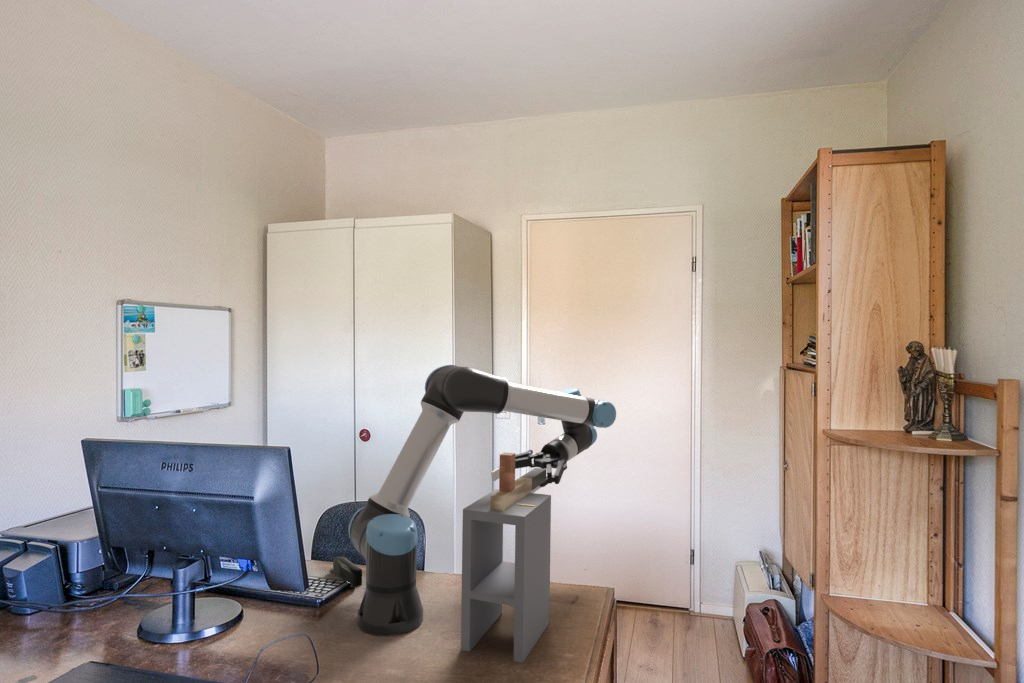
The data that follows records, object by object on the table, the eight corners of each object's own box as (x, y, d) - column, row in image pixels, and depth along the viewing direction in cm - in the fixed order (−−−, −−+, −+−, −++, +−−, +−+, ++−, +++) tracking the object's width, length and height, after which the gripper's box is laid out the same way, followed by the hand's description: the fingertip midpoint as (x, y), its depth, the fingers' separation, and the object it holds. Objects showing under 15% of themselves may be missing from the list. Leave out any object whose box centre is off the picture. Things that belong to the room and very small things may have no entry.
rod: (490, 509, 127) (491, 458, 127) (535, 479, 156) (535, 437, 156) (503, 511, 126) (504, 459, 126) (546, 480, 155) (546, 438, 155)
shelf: (460, 649, 127) (462, 508, 127) (494, 612, 144) (495, 488, 145) (522, 662, 122) (524, 515, 122) (549, 622, 140) (551, 494, 140)
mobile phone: (364, 567, 160) (337, 552, 171) (354, 570, 158) (327, 554, 169) (363, 586, 160) (337, 569, 171) (353, 589, 158) (327, 571, 169)
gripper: (595, 473, 167) (548, 507, 152) (528, 454, 184) (479, 483, 169) (593, 448, 165) (545, 481, 150) (525, 431, 182) (476, 459, 167)
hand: (510, 482), depth 159 cm, fingers open, 13 cm apart
